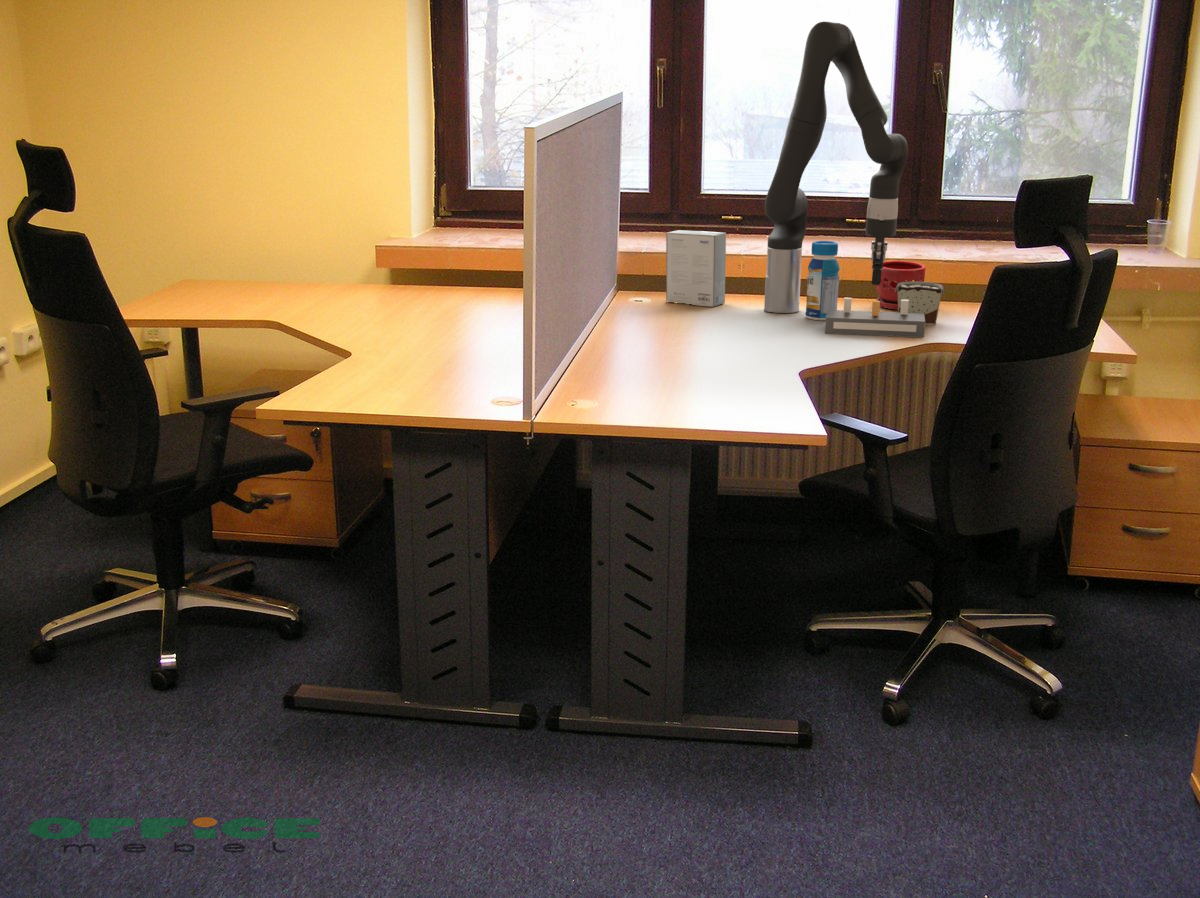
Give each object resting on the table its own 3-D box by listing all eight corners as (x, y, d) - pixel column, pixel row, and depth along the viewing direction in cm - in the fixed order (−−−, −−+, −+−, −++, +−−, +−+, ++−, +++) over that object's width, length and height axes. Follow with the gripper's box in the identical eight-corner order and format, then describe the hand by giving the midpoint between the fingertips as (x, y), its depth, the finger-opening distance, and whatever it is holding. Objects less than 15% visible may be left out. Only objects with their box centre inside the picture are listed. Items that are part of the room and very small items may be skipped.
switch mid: (871, 315, 292) (872, 301, 291) (871, 314, 293) (872, 300, 292) (879, 315, 291) (879, 301, 290) (879, 314, 293) (880, 300, 292)
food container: (943, 320, 307) (946, 282, 304) (941, 324, 301) (944, 286, 298) (895, 317, 311) (897, 280, 308) (892, 322, 305) (895, 284, 302)
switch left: (843, 312, 296) (844, 298, 295) (843, 311, 297) (844, 297, 296) (850, 312, 296) (851, 298, 295) (850, 311, 297) (851, 297, 296)
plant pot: (864, 307, 324) (866, 264, 321) (892, 301, 332) (895, 258, 329) (904, 314, 315) (907, 269, 311) (931, 307, 323) (935, 264, 319)
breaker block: (824, 333, 292) (825, 317, 291) (826, 325, 302) (827, 309, 301) (923, 337, 287) (925, 321, 286) (922, 329, 296) (924, 313, 295)
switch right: (900, 314, 293) (901, 300, 292) (900, 313, 294) (901, 299, 293) (907, 314, 293) (908, 300, 292) (907, 313, 294) (908, 299, 293)
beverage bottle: (835, 321, 306) (839, 245, 299) (802, 320, 308) (806, 244, 302) (838, 315, 313) (843, 240, 307) (807, 314, 316) (810, 239, 309)
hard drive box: (725, 303, 331) (727, 232, 324) (713, 308, 324) (715, 235, 318) (677, 298, 339) (678, 228, 332) (664, 302, 332) (665, 232, 326)
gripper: (867, 212, 300) (861, 279, 306) (865, 218, 288) (860, 288, 294) (897, 213, 299) (891, 280, 304) (897, 220, 286) (890, 290, 292)
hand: (875, 284), depth 299 cm, fingers closed
